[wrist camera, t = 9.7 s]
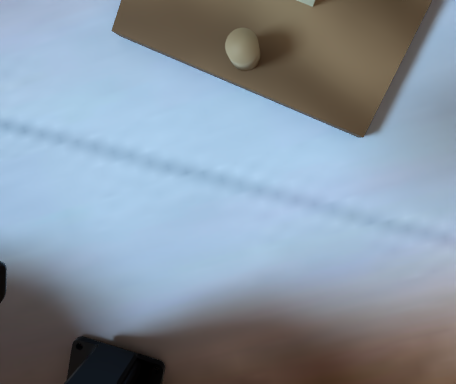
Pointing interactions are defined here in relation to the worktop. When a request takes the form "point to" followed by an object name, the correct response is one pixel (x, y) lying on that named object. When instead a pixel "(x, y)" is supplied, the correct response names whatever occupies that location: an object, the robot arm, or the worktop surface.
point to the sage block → (307, 2)
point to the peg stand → (286, 48)
